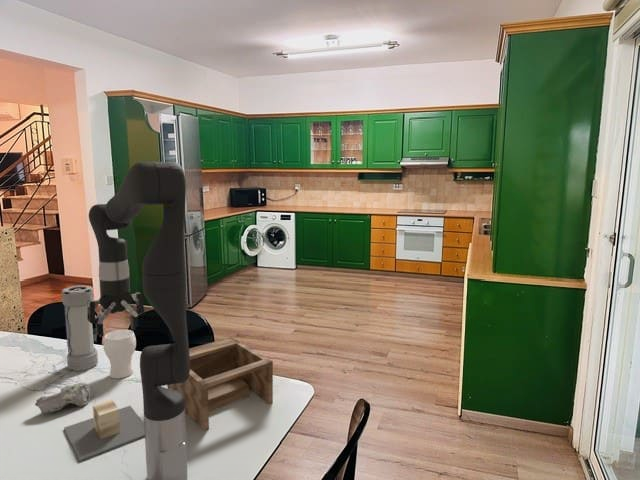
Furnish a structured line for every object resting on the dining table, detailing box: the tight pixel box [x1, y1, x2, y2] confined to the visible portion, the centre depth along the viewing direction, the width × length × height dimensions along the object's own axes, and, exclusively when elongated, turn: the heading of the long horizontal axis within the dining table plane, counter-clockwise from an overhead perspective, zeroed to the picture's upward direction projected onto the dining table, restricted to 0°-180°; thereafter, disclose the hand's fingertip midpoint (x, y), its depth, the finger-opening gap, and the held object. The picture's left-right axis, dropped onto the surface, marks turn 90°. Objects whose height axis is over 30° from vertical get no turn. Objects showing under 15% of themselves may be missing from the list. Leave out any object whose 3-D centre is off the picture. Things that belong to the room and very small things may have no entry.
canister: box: [61, 284, 99, 372], centre depth 158 cm, size 10×10×30 cm
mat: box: [63, 405, 145, 463], centre depth 120 cm, size 18×18×1 cm
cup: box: [103, 329, 137, 380], centre depth 153 cm, size 11×11×15 cm
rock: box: [34, 382, 92, 414], centre depth 132 cm, size 16×7×7 cm, turn 140°
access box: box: [166, 336, 274, 432], centre depth 138 cm, size 26×24×14 cm
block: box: [92, 398, 120, 439], centre depth 120 cm, size 7×5×7 cm
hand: (117, 332), depth 119 cm, fingers open, 8 cm apart
